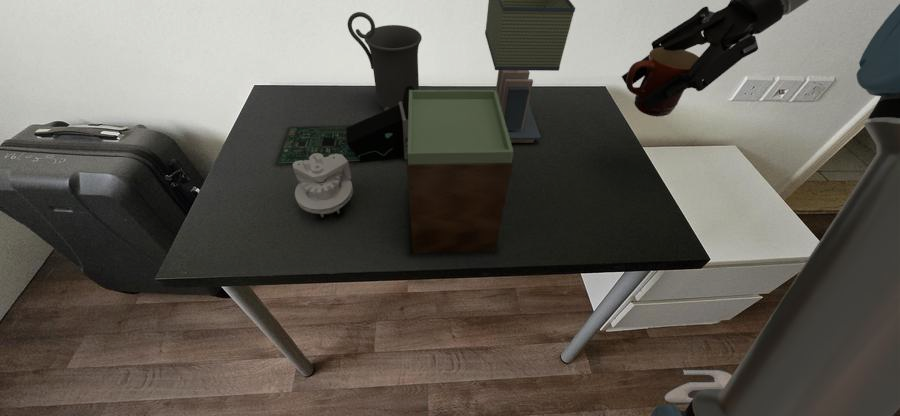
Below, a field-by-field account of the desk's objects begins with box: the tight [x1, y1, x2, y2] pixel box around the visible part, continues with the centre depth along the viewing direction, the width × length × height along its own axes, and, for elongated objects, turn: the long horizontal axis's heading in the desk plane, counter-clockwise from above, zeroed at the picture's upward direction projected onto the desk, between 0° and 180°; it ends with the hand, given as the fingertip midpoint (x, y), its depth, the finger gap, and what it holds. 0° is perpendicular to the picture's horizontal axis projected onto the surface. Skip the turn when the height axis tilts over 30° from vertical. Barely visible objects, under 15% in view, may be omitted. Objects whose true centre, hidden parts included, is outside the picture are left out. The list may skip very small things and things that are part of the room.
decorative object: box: [346, 86, 415, 162], centre depth 83 cm, size 8×18×15 cm, turn 102°
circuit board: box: [278, 125, 361, 164], centre depth 90 cm, size 14×20×1 cm
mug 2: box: [625, 47, 700, 118], centre depth 68 cm, size 12×9×10 cm
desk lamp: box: [484, 0, 576, 144], centre depth 86 cm, size 18×14×33 cm
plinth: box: [406, 103, 514, 255], centre depth 67 cm, size 16×18×22 cm
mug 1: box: [347, 11, 423, 112], centre depth 93 cm, size 19×15×25 cm
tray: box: [408, 89, 515, 165], centre depth 59 cm, size 15×17×2 cm
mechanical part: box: [292, 153, 354, 218], centre depth 72 cm, size 11×12×12 cm
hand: (634, 93), depth 69 cm, fingers closed on mug 2, 8 cm apart
